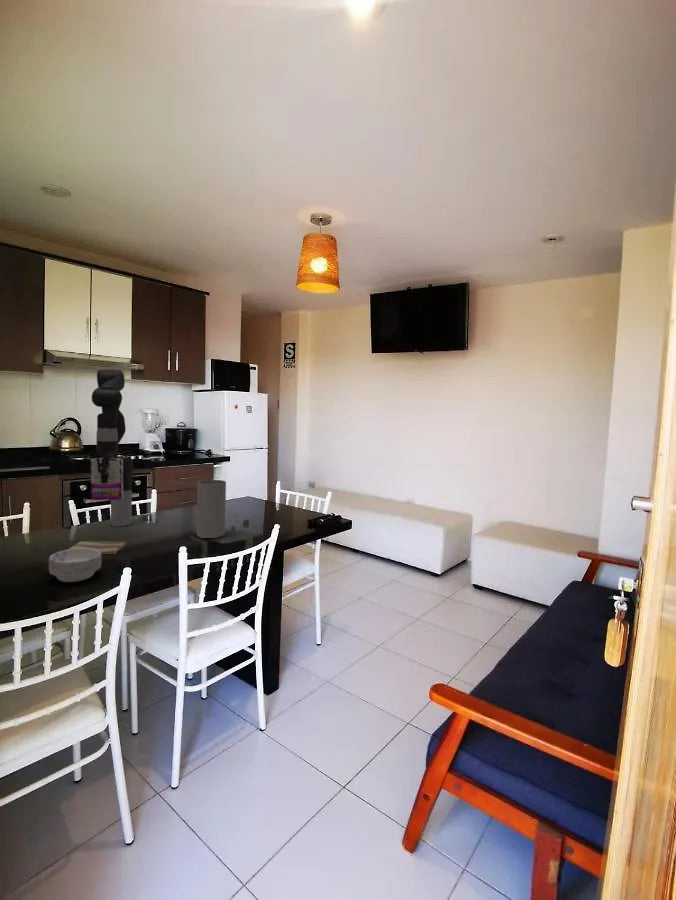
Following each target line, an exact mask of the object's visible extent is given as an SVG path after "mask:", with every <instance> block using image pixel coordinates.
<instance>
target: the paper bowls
mask: <svg viewBox="0 0 676 900" xmlns="http://www.w3.org/2000/svg"><path fill="white" fill-rule="evenodd" d="M68 549H69V548H68ZM68 549H65V550H59V551H57V552H55V553H53V554H51V555H50V556H49V557H48V572H49V574H50V575H52V576H55V577H56V578H57V580H58V581H60V582H64V583H76V582H77V583H78V582H82V581H85V579H86V580H88V579H89V578H92V576H93V575H94V574H95V572H96V571H98V570H99V569H101V567H102V555H101V552H100V551H98V550H95V549H89V548H78V549H69V550H68Z"/></svg>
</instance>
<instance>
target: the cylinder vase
mask: <svg viewBox="0 0 676 900" xmlns="http://www.w3.org/2000/svg"><path fill="white" fill-rule="evenodd" d="M226 490H227V481H226V480H221V479H202V480H198V481H197V490H196V491H197V493H196V494H197V495H196V496H197V497H196V536H197V537H198V538H201V539H204V538H215V539H219V538H218V537H220V538H222V537H224V536H225V534H226V502H227V501H226V499H227V498H226V497H227V496H226V493H227V491H226ZM223 535H224V536H223ZM221 536H222V537H221Z"/></svg>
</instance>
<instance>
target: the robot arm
mask: <svg viewBox="0 0 676 900" xmlns="http://www.w3.org/2000/svg"><path fill="white" fill-rule="evenodd" d="M125 380H126V379H125V374H124V371H122V370H119V369H98V370H97V371H96V382H97V383H96V384H97V387H96V388H95V389H94V390H93V392H92V393H91V402H92V404H93V405H95V406H96V407H98V408H101V413H98V415H97V417H96V418H97V419H96V421H97V422H96V423H97V424H96V427H97V428H96V436H95V437H96V452H99V453H100V457H97V464H98V473H100V474H101V483H107V482H108V474H107V473H108V468H110V460H111V459H112V458H123V498H122V499H121V500H110V526H111V525H112V527H126V525H128V526H130V524H131V523H132V524H133V522H132V515H133V514H132V512H133V511H132V510H133V509H132V508H133V503H132V502H133V498H132V497H133V495H132V492H133V491H132V490H133V488H132V487H133V479H134V478H133V473H134V462H133V459H132V458H131V457H129V456H117V452H118V449H119V448H118V446H119V443H120V442H121V441H122V439H123V437H124V435H125V433H126V422H125V421H126V420H125V417H124V414H123V412H121V410H120V406H121V405H122V401H123V395H122V393H121V391H122V390H124V387H125V383H126V382H125ZM105 464H108V465H107V466H105ZM100 468H101V469H100ZM132 524H131V525H132Z"/></svg>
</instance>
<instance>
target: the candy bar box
mask: <svg viewBox="0 0 676 900" xmlns="http://www.w3.org/2000/svg"><path fill="white" fill-rule="evenodd" d="M97 458H98V457H97ZM97 458H96V457H95V458H90V464H89V465H90V501H108V500H109V501H111V500H121V499H122V498H123V458H112V459H111V460H110V468H108V473H107V474H108V482H107V483H101V474H100V473H98V464H97ZM107 465H108V464H105V466H107ZM100 469H101V468H100Z"/></svg>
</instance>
